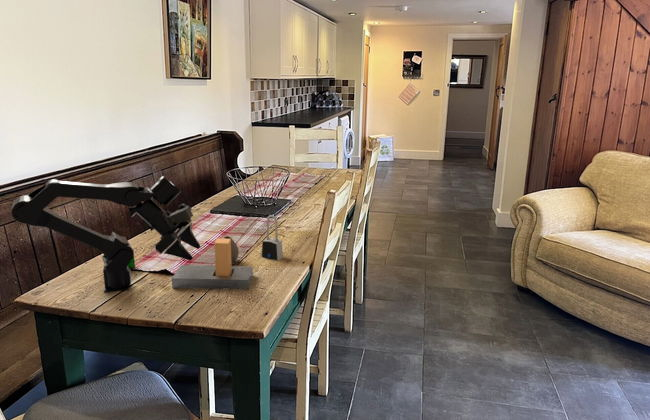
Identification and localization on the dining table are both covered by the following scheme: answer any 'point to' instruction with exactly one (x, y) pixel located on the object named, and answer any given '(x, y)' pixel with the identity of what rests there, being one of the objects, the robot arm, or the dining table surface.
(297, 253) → the dining table surface
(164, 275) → the dining table surface
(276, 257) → the padlock
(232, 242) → the vase
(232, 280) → the rail
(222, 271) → the peg
